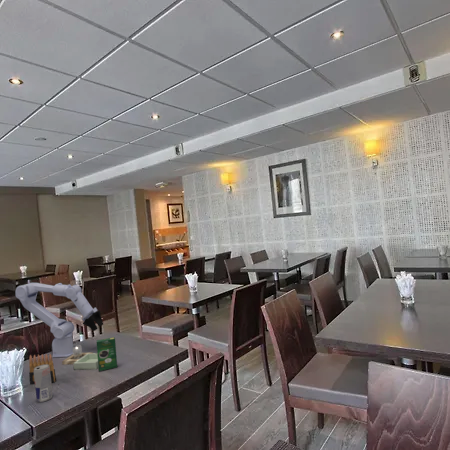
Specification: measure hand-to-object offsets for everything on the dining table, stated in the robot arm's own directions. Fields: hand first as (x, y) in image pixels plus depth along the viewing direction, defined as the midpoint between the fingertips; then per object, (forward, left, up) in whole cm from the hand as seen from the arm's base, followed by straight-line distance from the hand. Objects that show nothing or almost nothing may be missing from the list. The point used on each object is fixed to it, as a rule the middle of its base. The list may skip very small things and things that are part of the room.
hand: (98, 327), depth 171 cm
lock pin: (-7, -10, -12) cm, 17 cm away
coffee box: (+15, -21, -12) cm, 29 cm away
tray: (+4, -16, -12) cm, 20 cm away
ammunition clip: (-8, -33, -13) cm, 36 cm away
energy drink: (+3, -46, -12) cm, 47 cm away
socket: (-7, -10, -12) cm, 17 cm away
